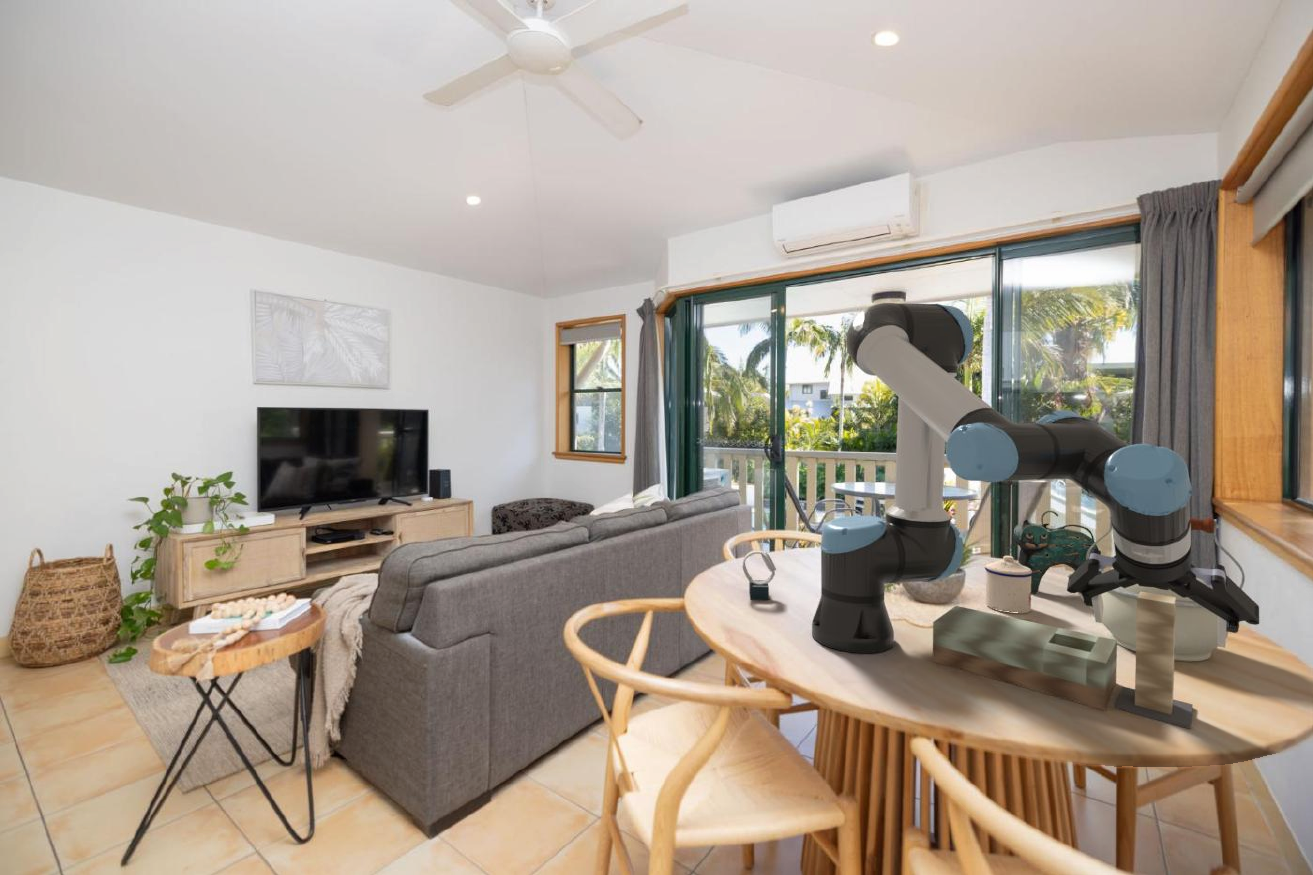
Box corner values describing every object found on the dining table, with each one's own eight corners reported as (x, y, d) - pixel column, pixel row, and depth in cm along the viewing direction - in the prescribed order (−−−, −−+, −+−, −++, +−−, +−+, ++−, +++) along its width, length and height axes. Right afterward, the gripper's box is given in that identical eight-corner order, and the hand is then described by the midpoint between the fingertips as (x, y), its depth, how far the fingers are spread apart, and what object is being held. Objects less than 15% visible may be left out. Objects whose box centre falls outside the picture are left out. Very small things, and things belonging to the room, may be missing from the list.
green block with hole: (932, 661, 100) (933, 622, 99) (955, 641, 108) (955, 605, 108) (1105, 710, 83) (1106, 663, 82) (1116, 683, 91) (1117, 640, 91)
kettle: (1240, 648, 104) (1244, 514, 103) (1243, 681, 91) (1248, 528, 90) (1073, 615, 122) (1076, 500, 121) (1056, 639, 109) (1059, 511, 108)
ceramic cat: (1022, 594, 136) (1023, 512, 135) (1006, 586, 143) (1007, 508, 142) (1106, 595, 135) (1108, 512, 135) (1087, 587, 142) (1088, 508, 141)
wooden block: (1134, 704, 83) (1137, 597, 83) (1137, 695, 86) (1140, 591, 85) (1171, 714, 80) (1174, 603, 80) (1173, 704, 83) (1175, 597, 83)
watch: (777, 600, 133) (777, 554, 133) (742, 599, 134) (742, 553, 134) (775, 593, 139) (775, 548, 138) (742, 592, 140) (741, 548, 139)
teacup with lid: (1041, 615, 122) (1042, 561, 122) (997, 614, 123) (998, 561, 122) (1010, 597, 134) (1011, 548, 134) (970, 596, 135) (971, 548, 134)
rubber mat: (1115, 708, 83) (1115, 704, 83) (1122, 689, 89) (1122, 686, 89) (1190, 728, 78) (1190, 725, 78) (1192, 707, 83) (1192, 704, 83)
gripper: (1032, 550, 80) (1052, 626, 91) (1297, 587, 63) (1282, 675, 74) (1041, 509, 84) (1059, 587, 95) (1294, 532, 66) (1280, 625, 77)
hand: (1157, 626), depth 84 cm, fingers open, 13 cm apart
